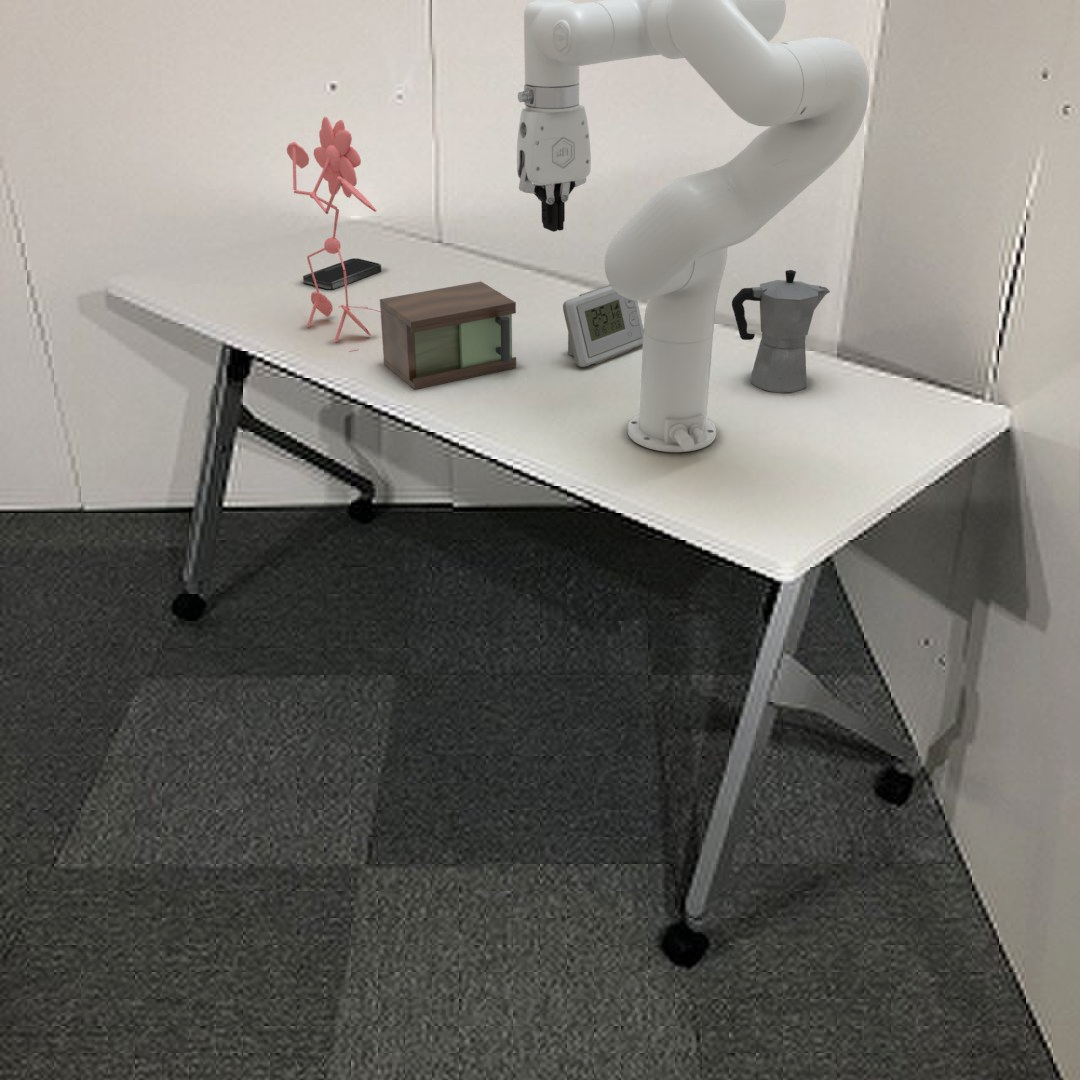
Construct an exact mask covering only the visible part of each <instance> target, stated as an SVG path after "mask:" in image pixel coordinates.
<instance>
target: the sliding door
mask: <svg viewBox="0 0 1080 1080" xmlns="http://www.w3.org/2000/svg"><path fill="white" fill-rule="evenodd" d="M459 342H460V368H465V367H470V366H475V365H479V364H484V363H489V362H494V361H498V360H501V361H502V362H509V361H510V358H513V314H509V315H504V316H499V317H494V318H488V319H483V320H478V321H473V322H468V323H462V324H459Z"/></svg>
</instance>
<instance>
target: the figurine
mask: <svg viewBox="0 0 1080 1080" xmlns="http://www.w3.org/2000/svg"><path fill="white" fill-rule="evenodd" d="M345 127H346V126H345V122H344V121H343V119H339V120H338V121H336V122H335V124H334V126H332V124H331V122H330V119H329V118H328V116H324V117H323V118H322V120H321V128H320V130H319V133H318V137H319V143H320V146H317V147H315V148H314V149H313V157H314V159H315V161H316V163H317V164H318V165H319V166H320V168H322V170H321V173H320V175H319V177H318V179H317V182H316V183H315V186H314V188H313V190H312V191H305V190H299V189H298V188H297V187H298V185H297V167H299V168H300V169H304V168H306V167H307V166H308V165H309V163H310V157H309V154H308V153H307V151H306V150H305V149H304V148H303V147H302V146H300V145H299V144H297V142H296V141H292V142H290V143H288V145H287V147H286V154H287V155H288V157H289V158H290V160H291V161H292V187H293V188H292V189H293V194H296V195H297V194H298V195H305V196H309V197H310V198H311V199H313V200H314V201H315V203H317V205H318V206H319V207H320V208H321V210H322V211H323V212H324V213H325V214H326V215H328V214H329V212H330V210H331V209H333V210H335V214H334V222H333V223H334V224H333V234H332V235H333V236H331V237H328V238H326V240H325V241H324V243H323V248H321V249H319V250H317V251H314V252H312V253H310V254H308V255H307V256H306V258H307V264H308V265H309V269H310V273H312V277H313V280H314V283H315V286H314V287H315V290H316V291H313V292H311V295H310V301H311V304H312V308H311V309H312V310H311V312H310V315H309V318H308V322H307V325H306V327H307V328H311V325H312V322H313V319H314V316H315V312H316V310H317V311H319V312H320V313H321V314H322V315H324V316H325V317H326V318H329V317H330V316H331V314H332V312H333V304H332V302H331V301H330V300H329V298H328V297H327V296H326V295H325V294H323V293H322V292H320V290H319V287H318V286H317V283H316V279H315V276H314V273H313V272H314V270H313V269H314V268H313V266H312V263H311V257H313V256H315V255H318V254H319V253H322V252H323V251H324V252H325V251H326V252H327V253H328V254H331V255H335V254H338V257H339V260H340V263H342V267H343V270H344V283H345V285H344V294H345V305H343V304H341V305H338V308H341V309H342V310H343V313H342V316H341V319H340V322H339V324H338V328H337V331H336V334H335V337H334V340H333V342H334V343H338V341H339V338H340V335H341V333H342V329H343V326H344V324H345V320H346V318H347V317H346V316H349V318H350V319H351V320H352V321H353V322H354V323H355V324H356V325H357V326H358V327H359V328H360V329H362V331H363V332H365V333H366V334H367V335H368V336H369V337H371V336H372V334H371V333H370V332H369V330H368V328H367V327H365V325H364V324H363V323H362V322H361V320H359V318H358V317H356V316H355V314H354V313H353V312H352V311H350V310H351V308H352V306H349V296H348V284H347V280H346V271H345V266H344V263H343V261H344V260H343V257H342V253H341V241H340V240H339V239H338V238H337V237H336V234H337V228H338V220H339V216H340V215H339V213H340V209H339V208H338V206H336V205H334V204H333V201H334V200H335V196H336V195H337V194H338V192H340V190H341V189H342V192H343V194H344V196H345V197H346V198H348V199H349V198H351V196H352V195H353V196H354V197H355V198H356V199H357V200H358V201H360V202H361V203H362V204H363V205H365V206H366V207H367V208H369V209H370V210H371V211H373V212H374V213H376V212H377V209H376V208H375V207H374V205H373V204H372V203H371V202H370V201H369V200H368V198H367V197H365V196H364V194H362V192H361V191H359V189H357V188H356V186H357V184H358V183H357V181H358V178H357V174H356V170H355V168H358V167H359V166H360V165H361V162H362V160H361V159H362V158H361V156H360V154H359V153H358V151H357V150H356V149H355V147H353V146H351V145H352V140H353V137H352V134H351V132H350V131H349V130H346V128H345ZM323 179H324V180H325V181H327V184H328V191H329V192H328V193H330V195H331V196H330V198H329V200H328V201H327V200H325V199H323V198H321V197H319V196H318V195H317V192H318V190H319V187H320V185H321V183H322V181H323ZM322 203H323V204H325V205H326V207H325V205H323V204H322ZM353 308H355V309H356V308H357V309H364V310H370V311H375V312H378V313H381V310H378V309H373V308H369V307H368V306H365V307H363V306H361V305H360V306H353ZM357 351H359V349H354V350H353V349H352V350H349V351H348V352H349V353H350V352H357Z"/></svg>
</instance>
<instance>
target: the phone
mask: <svg viewBox="0 0 1080 1080" xmlns="http://www.w3.org/2000/svg"><path fill="white" fill-rule="evenodd" d="M343 263H344V266H345V271H346V280H347V285H349V284H350V283H353V282H356V281H358V280H361V279H364V278H366V277H370V276H372V275H375V274H377V273H380V272H382V264H381V263H378V262H374V261H369V260H367V259H363V258H357V257H353V258H349V259H346V260H343ZM313 273H314V276H315V279H316V283H317V286H318V288H321V289H324V290H334V289H335V290H336V289H338V288H340V287H344V286H345V283H344V270H343V267H342V263H341V262H338V263H335V264H332V265H330V266H327V267H324V268H321V269H318V270H315V271H313ZM302 281H303V284H306V285H310V286H312V287H313V286H314V287H315V283H314V280H313V277H312V273H311V272H310V273H307V274H304V275H303V276H302Z"/></svg>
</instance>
